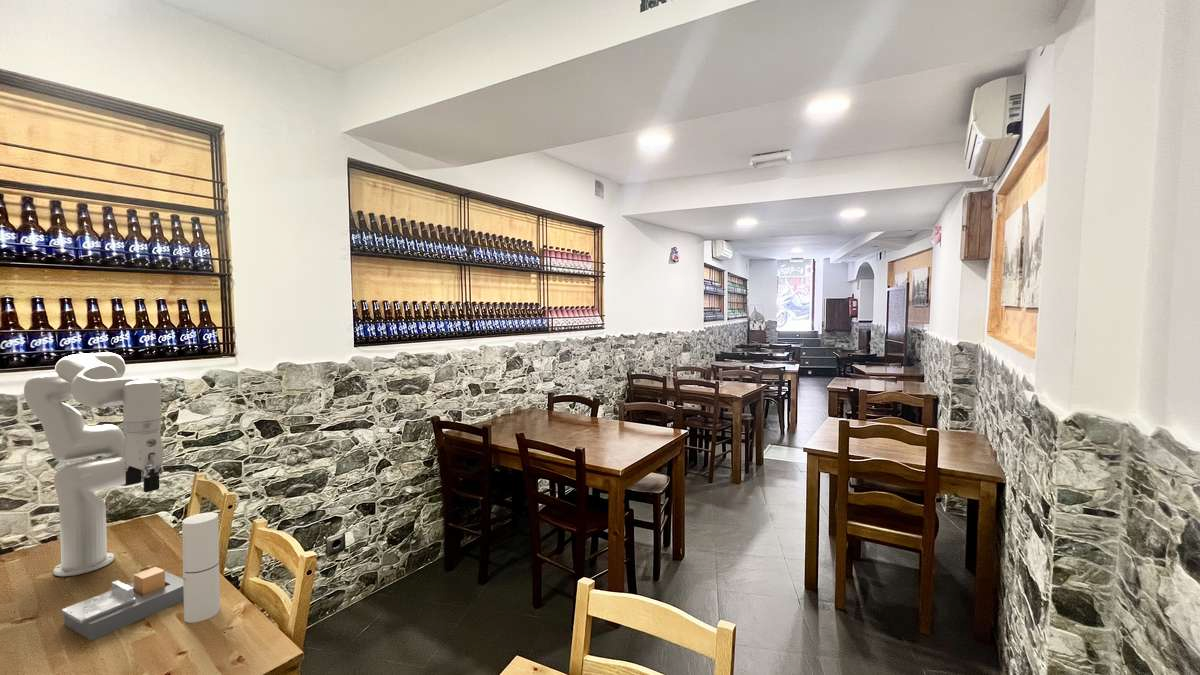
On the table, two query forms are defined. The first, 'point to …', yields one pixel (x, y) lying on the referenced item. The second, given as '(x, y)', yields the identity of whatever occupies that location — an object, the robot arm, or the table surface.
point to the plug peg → (149, 581)
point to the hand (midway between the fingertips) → (142, 487)
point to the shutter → (101, 603)
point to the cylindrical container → (201, 566)
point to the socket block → (131, 609)
